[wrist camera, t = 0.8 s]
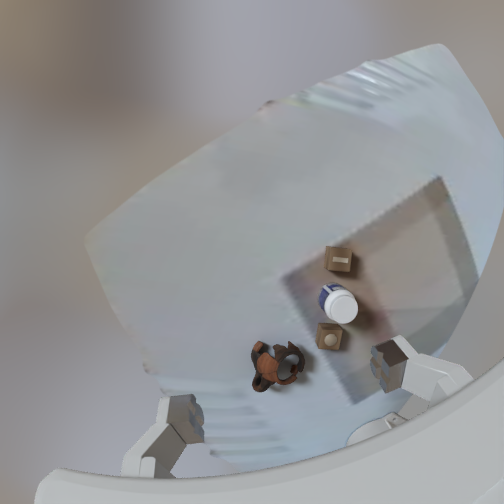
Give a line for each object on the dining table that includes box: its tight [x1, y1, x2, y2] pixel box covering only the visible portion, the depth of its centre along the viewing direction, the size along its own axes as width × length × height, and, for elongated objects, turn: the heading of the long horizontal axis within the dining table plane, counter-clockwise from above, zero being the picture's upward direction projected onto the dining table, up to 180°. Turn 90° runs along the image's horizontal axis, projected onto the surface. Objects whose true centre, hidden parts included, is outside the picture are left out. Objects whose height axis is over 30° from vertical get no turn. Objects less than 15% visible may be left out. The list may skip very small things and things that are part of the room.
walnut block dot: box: [316, 323, 343, 350], centre depth 51 cm, size 4×4×4 cm
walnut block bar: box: [324, 246, 352, 272], centre depth 50 cm, size 4×4×4 cm
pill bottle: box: [318, 283, 358, 324], centre depth 48 cm, size 6×6×10 cm
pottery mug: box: [251, 341, 305, 392], centre depth 52 cm, size 12×10×8 cm
